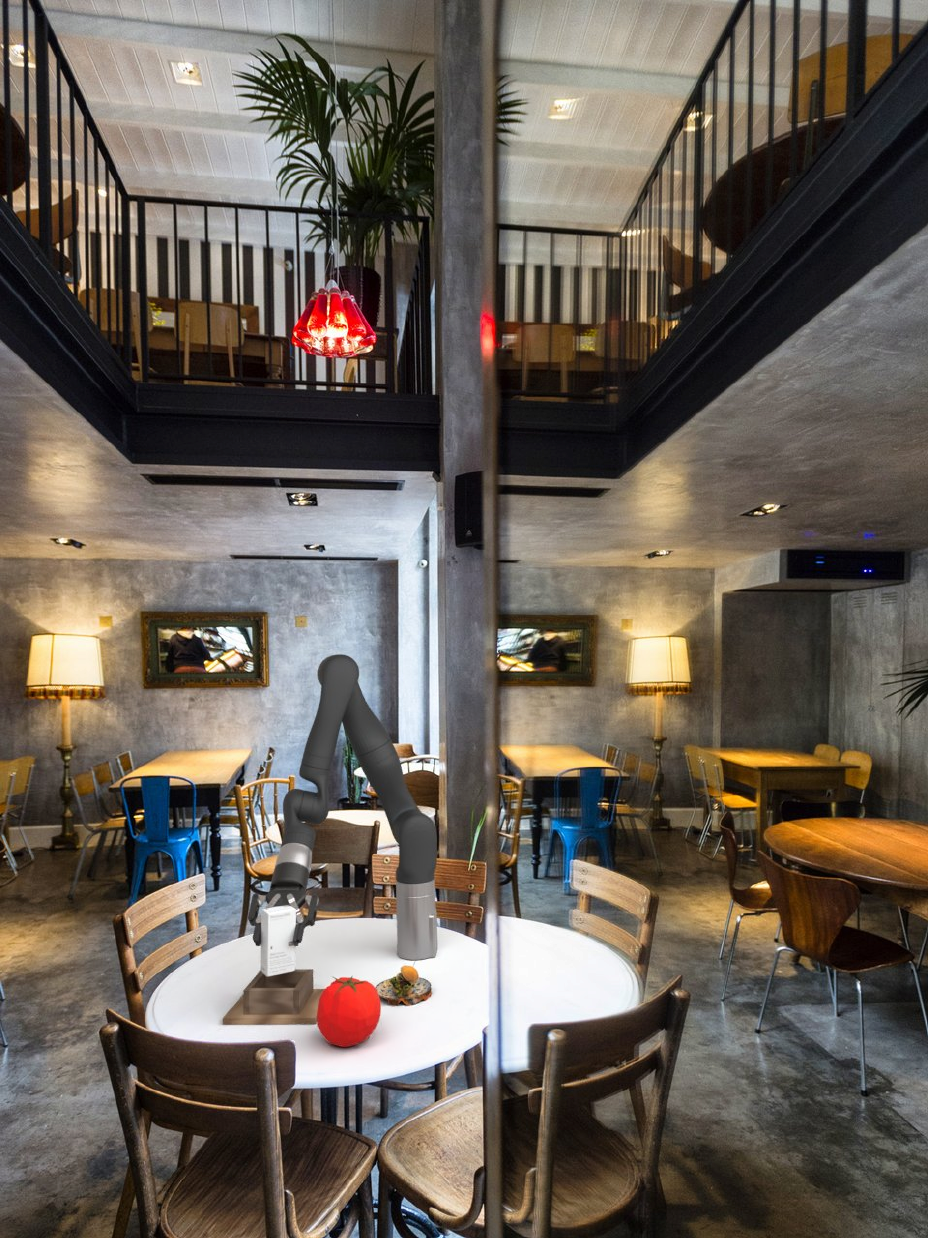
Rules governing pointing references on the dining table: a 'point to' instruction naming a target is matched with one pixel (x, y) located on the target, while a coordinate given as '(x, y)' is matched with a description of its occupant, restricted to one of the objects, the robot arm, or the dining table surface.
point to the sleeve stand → (277, 1000)
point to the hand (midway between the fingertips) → (276, 944)
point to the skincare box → (278, 940)
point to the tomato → (348, 1011)
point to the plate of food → (405, 987)
